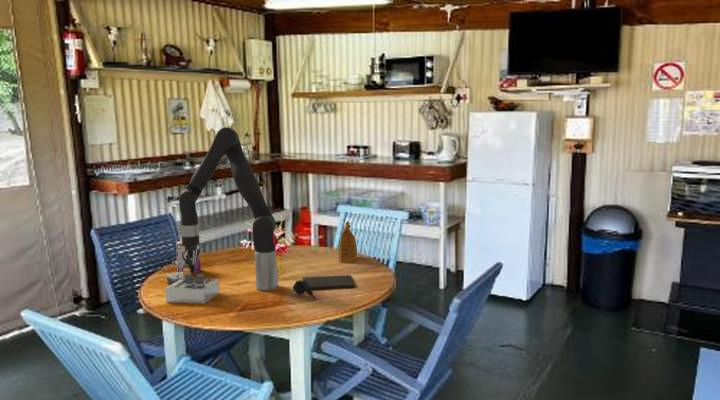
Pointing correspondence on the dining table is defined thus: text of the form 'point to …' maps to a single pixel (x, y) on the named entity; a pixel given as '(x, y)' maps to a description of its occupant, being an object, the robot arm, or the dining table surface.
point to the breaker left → (200, 280)
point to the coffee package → (347, 246)
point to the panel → (192, 292)
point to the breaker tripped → (185, 271)
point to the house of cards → (174, 262)
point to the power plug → (302, 288)
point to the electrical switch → (174, 277)
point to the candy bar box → (180, 260)
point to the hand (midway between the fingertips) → (192, 272)
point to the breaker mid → (189, 280)
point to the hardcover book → (330, 282)
